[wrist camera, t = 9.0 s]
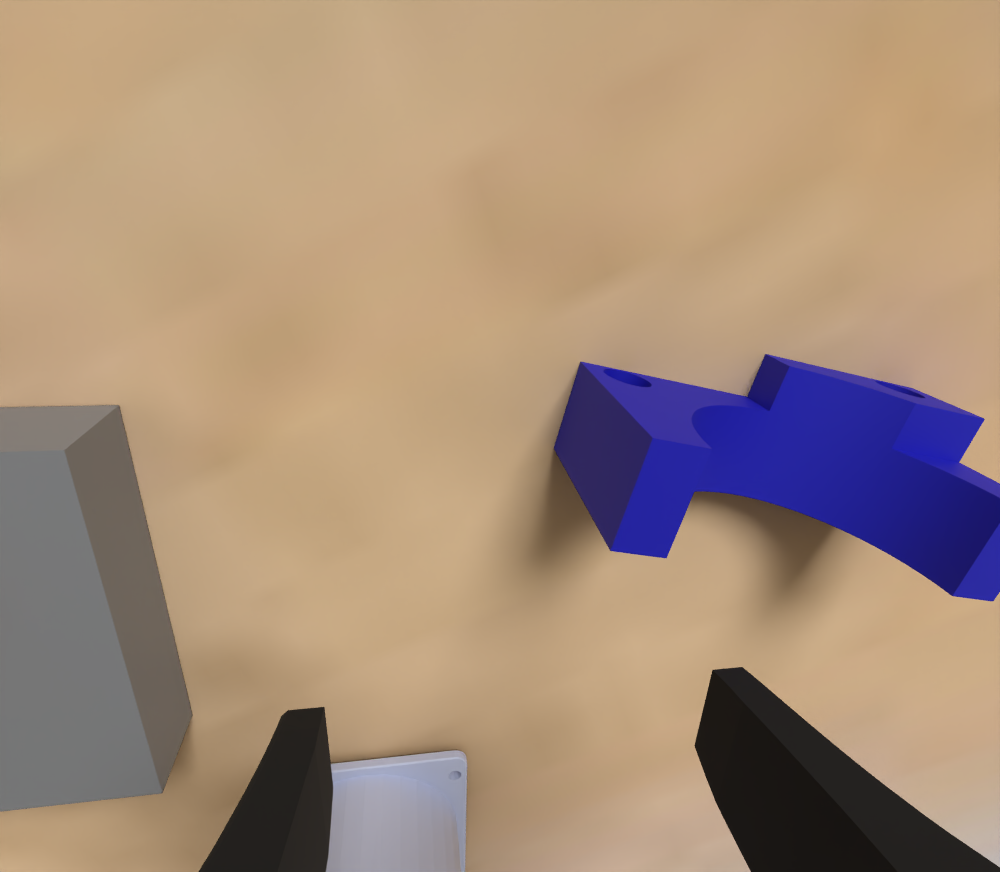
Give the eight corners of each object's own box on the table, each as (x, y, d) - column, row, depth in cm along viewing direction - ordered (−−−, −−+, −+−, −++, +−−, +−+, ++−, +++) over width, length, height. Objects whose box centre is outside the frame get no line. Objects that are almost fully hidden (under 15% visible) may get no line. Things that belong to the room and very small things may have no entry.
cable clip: (908, 386, 21) (1088, 462, 15) (849, 497, 22) (993, 601, 17) (593, 313, 18) (676, 374, 13) (552, 445, 20) (610, 550, 14)
